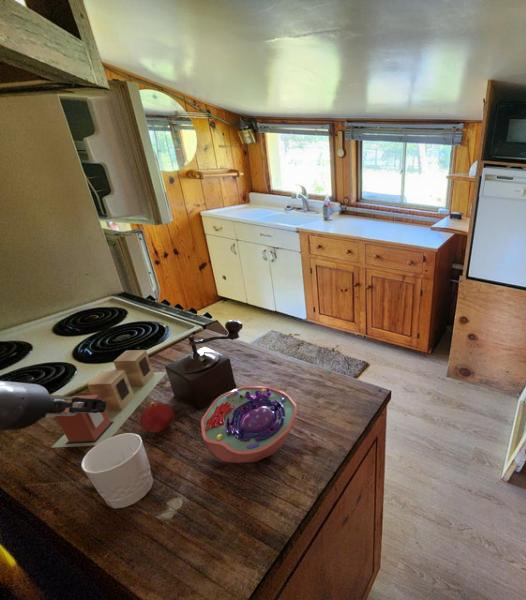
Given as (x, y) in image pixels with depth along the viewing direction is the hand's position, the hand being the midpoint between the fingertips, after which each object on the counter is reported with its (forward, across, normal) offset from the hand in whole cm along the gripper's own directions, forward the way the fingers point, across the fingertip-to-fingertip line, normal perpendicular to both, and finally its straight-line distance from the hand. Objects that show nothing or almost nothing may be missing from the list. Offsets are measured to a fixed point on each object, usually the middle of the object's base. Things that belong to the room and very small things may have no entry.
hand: (80, 408), depth 67 cm
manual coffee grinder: (+15, -20, -5) cm, 25 cm away
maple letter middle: (+10, 0, -1) cm, 10 cm away
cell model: (+1, -35, +9) cm, 36 cm away
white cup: (-5, -16, +15) cm, 23 cm away
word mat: (+11, 0, -1) cm, 11 cm away
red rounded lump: (+5, -14, +5) cm, 16 cm away
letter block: (+4, 0, +5) cm, 6 cm away
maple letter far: (+16, 0, -7) cm, 18 cm away
